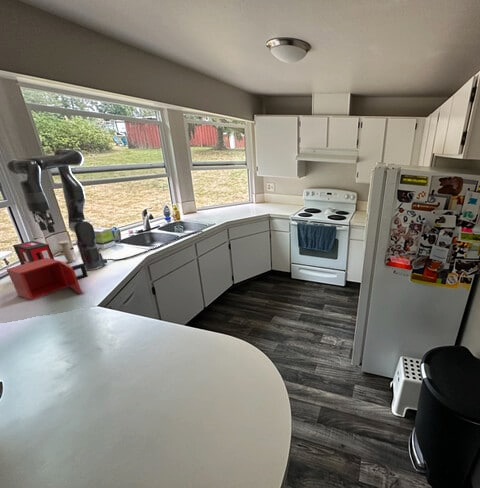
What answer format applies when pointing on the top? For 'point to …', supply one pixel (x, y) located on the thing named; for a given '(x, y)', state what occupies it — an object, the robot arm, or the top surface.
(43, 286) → the cabinet
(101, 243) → the tea box
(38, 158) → the robot arm
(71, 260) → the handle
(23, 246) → the cleaning product box
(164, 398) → the top surface
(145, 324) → the top surface
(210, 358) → the top surface
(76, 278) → the red cabinet door
